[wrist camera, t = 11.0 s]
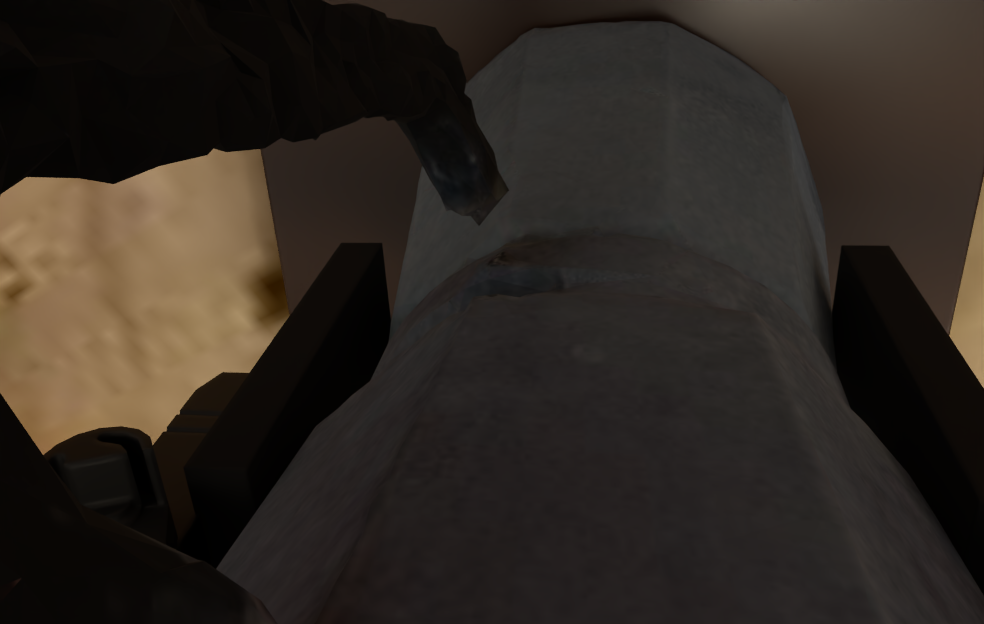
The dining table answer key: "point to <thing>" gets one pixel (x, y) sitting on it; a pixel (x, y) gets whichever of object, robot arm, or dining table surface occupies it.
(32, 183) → the dining table surface
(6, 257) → the dining table surface
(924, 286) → the walnut trivet
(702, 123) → the moka pot
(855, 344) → the robot arm
